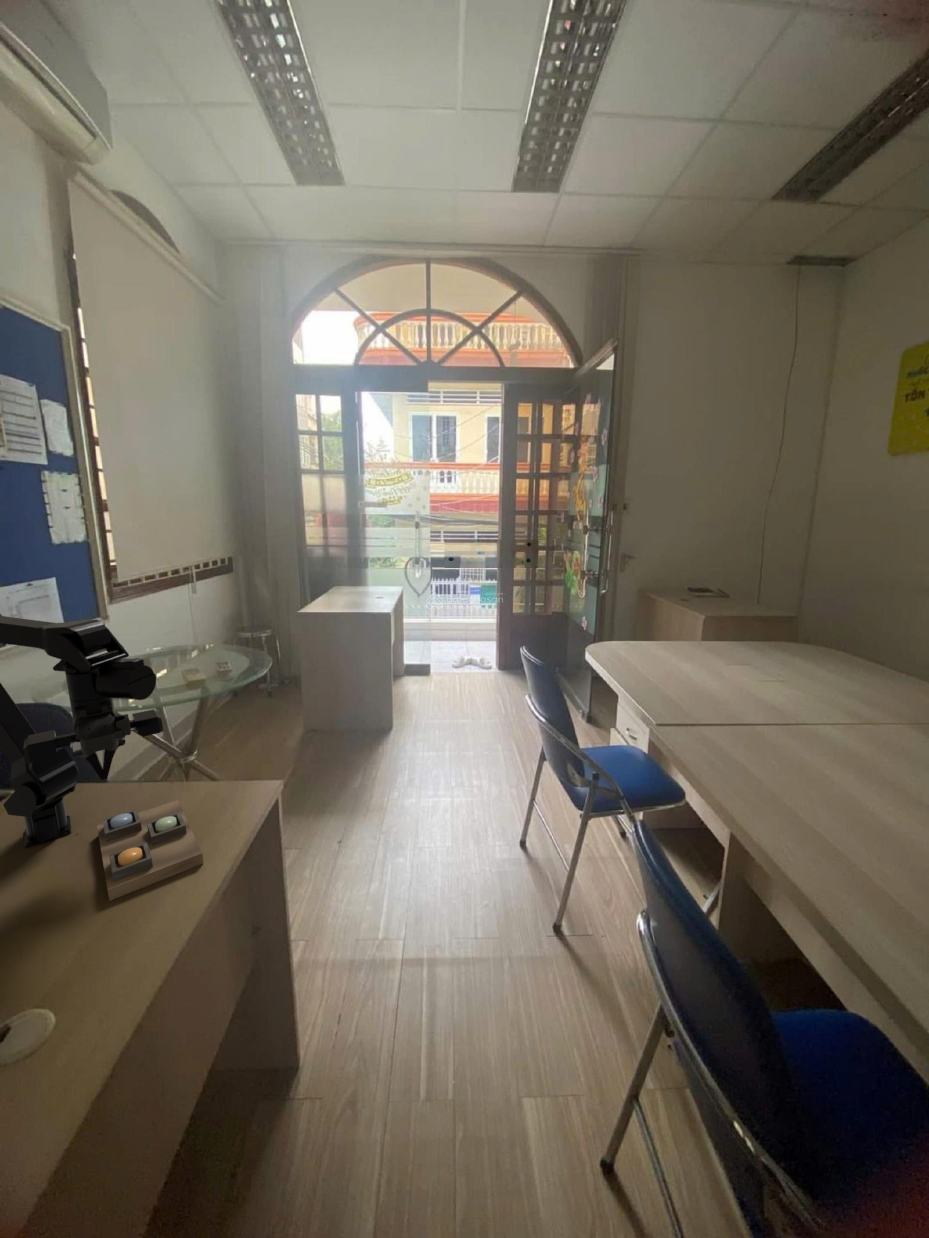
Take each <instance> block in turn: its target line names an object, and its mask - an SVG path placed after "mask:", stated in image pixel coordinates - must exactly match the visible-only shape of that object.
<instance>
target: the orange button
mask: <svg viewBox="0 0 929 1238" xmlns="http://www.w3.org/2000/svg"><path fill="white" fill-rule="evenodd" d="M142 859H143V856H142V849H141V848H138V847H135V848H130V849H127V850H125V851H123V852H122V853H120V855H119V856H118V862H119V868H120V867H123V866H126V865H129V864H131V863H134V862H137V861H139V860H142Z"/></svg>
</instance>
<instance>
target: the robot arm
mask: <svg viewBox="0 0 929 1238" xmlns="http://www.w3.org/2000/svg"><path fill="white" fill-rule="evenodd" d="M3 645H10V646H19V647H27V648H33V649H39V650H43V651H44V652H45V653H46V655H47V656H49V657H52V658H55V659H58V660H59V662H57V663H56V664H55V665H54V666H52V670H53V671H54V672H64V673H65V680H66V686H67V691H68V692H67V693H68V697H69V704H70V710H71V716H72V720H73V732H70V733H67V734H62V735H57V734H56V731H55V729H54V730H53V729H52V730H48V731H43V732H39V733H37V732H36V730H35V729H34V728H33V726H32V725H31V724H30V723H29V721H28V720H27V718H26V716H24V714H23V712H22V711H21V710H20V708H19V707H18V705H17V704H16V703H15V701H14V700H13V699H12V697H11V696H10V694H9V692H8V691H7V690H6V688H5V687H4V685H3V684H2V682H0V749H1V750H2V751H3V753H4V754H5V756H6V757H7V758H8V760H9V762H10V763H11V769H10V778H9V781H10V785H11V786H12V788H13V790H14V791H13V792H12V794H11V795H10V796H9V797H8V798H7V799H6V800H5V801H4V803H3V807H4V809H5V811H6V813H7V815H8V816H15V817H23V820H24V825H25V829H24V837H23V838H24V839H23V841H24V842H23V846H24V848H25V849H26V848H30V847H33V846H36V845H40V844H42V843H46V842H48V841H52V840H55V839H58V838H62V837H64V836H67V835H70V834H72V823H71V816H70V815H67V811H66V806H65V800H64V797H65V796H67V795H69V794H71V793H73V792H75V791H76V786H77V781H78V778H79V777H78V776H79V775H80V772H79V769H78V767H77V766H78V763H77V762H76V761H75V760H73V759H72V757H82V758H84V759H85V760H86V761H87V762H88V763H89V765H90V766H91V767H92V769H93V770H94V772H95V773H96V775H98V777H99V779H100V780H101V781H105V780H108V777H109V774H110V770H111V767H112V763H113V759H114V756H115V754H116V751H117V750H118V749H119V748H120V747H123V746H125V745H126V739H125V738H126V736H127V737H128V736H130V735H131V733H132V732H135V731H136V733H137V735H139V736H142V737H143V738H145V737H148V736H152V735H157V734H161V733H163V731H164V725H163V720H162V718H161V716H160V713H159V712H158V711H157V710H155V709H149V710H143V711H139V712H135V713H131V714H132V715H131V717H132V718H131V720H130V717H129V714H128V713H126V714H118V715H116V711H115V705H114V699H121V700H132V701H133V700H134V701H135V700H137V701H142V700H143V701H144V700H146V699H148V698H149V697H150V696H151V695H152V693H153V692H154V690H155V688H156V685H157V675H156V673H155V672H154V670H153V669H152V668H151V667H150V666H149V665H146V664H145V660H144V658H140V657H139V658H138V657H136V658H129V656H130V654H129V653H128V652H127V650H126V649H125V646H123V645H122V644H121V643H120V642H119V640H118V639H117V638H116V637H115V635H114V633H112V631H110V629H109V628H108V627H107V626H106V624H105V622H103V621H101V620H99V619H81V620H73V621H71V620H70V621H66V622H65V621H64V622H53V621H51V622H50V621H42V620H35V619H28V618H19V617H15V616H14V617H13V616H3V615H2V614H0V649H1V648H2V647H3ZM105 651H106V652H105ZM103 652H104V653H103ZM97 654H98V655H97ZM94 655H95V656H94ZM91 656H92V657H91ZM88 657H89V658H88ZM69 746H70V748H71V752H72V753H71V754H72V757H71V756H70V753H69V752H68V751H67V749H65V747H69ZM101 751H102V763H101V761H100V758H99V754H98V752H101Z"/></svg>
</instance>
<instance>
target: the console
mask: <svg viewBox="0 0 929 1238" xmlns="http://www.w3.org/2000/svg"><path fill="white" fill-rule="evenodd" d="M125 813H129V814H131V815H132V820H133V823H132V824H129V825H126V826H123V827H119V828H116V829H113V830H111V823H110V821H111V819H112V818H114V817H116V816H118V815H120V814H125ZM169 816H173V817H175V818H176V821H177V827H174V828H171V829H168V830H166V831H163V832H160V833H156V826H155V824H156V822H157V821H158V820H160V819H162V818H164V817H169ZM96 827H97V828H96V829H97V836H98V840H99V846H100V852H101V853H100V854H101V859H102V863H103V870H104V877H105V882H106V890H107V894H108V896H107V897H108V901H109V902H110V901H111V902H112V901H113V900H115V899H118V898H121V897H123V896H126V895H128V894H130V893H133V892H135V891H138V890H141V889H143V888H147V886H150V885H153V884H156V883H159V882H161V881H162V880H166V879H168V878H171V877H173V876H176V875H178V874H181V873H182V872H185V871H189V870H190V869H193V868H195V867H198V866H201V865H202V864H204V858H203V857H204V856H203V852H202V850H201V847H200V845H199V843H198V841H197V839H196V836H195V834H194V832H193V830H192V828H191V825H190V823H189V820H188V819H187V817H186V814H185V813H184V810H183V808H182V805H181V803H180V802H179V800H178V799H177V800H174V801H170V802H168V803H165V804H161V805H158V806H155V807H152V808H149V809H146V810H142V811H138V809H137V808H135V809H132V810H129V811H125V812H122V813H119V814H116V815H112V816H110V817H107V818H104V819H102V823H100V824H98V825H96ZM135 847H138V848H141V849H142V856H143V859H142V860H139V861H137V862H134V863H131V864H129V865H126V866H123V867H120V868H119V862H118V856H119V855H120V853H122V852H123V851H125V850H127V849H130V848H135Z"/></svg>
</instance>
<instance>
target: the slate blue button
mask: <svg viewBox="0 0 929 1238" xmlns="http://www.w3.org/2000/svg"><path fill="white" fill-rule="evenodd" d="M124 813H125V812H124ZM119 814H120V815H119ZM119 814H117V815H118V816H116V815H115V816H116V817H114V818H112V819H111V821H110V823H111V830H113V829H116V828H119V827H123V826H126V825H129V824H132V823H133V820H132V815H131V814H129V813H125V814H122V813H119Z"/></svg>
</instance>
